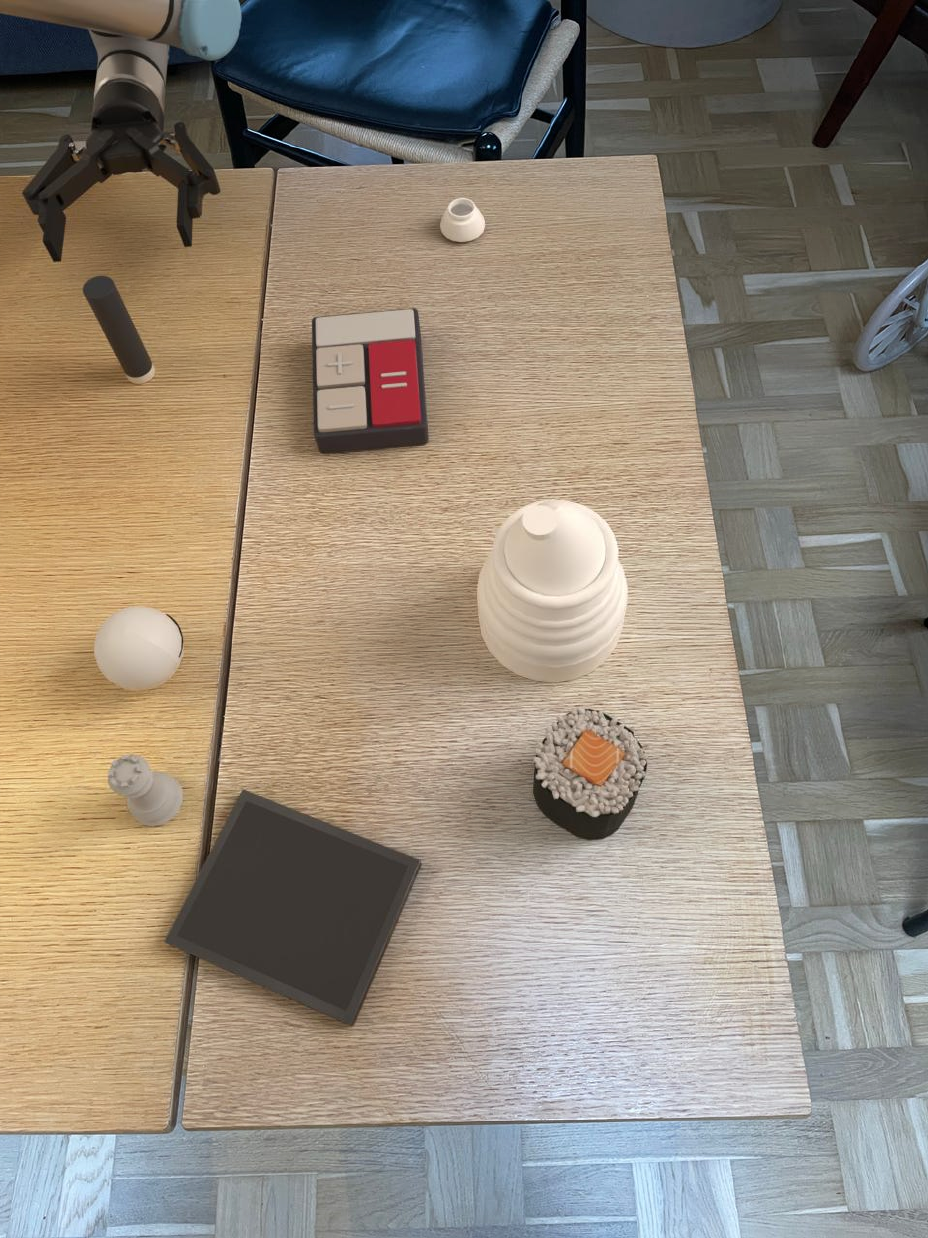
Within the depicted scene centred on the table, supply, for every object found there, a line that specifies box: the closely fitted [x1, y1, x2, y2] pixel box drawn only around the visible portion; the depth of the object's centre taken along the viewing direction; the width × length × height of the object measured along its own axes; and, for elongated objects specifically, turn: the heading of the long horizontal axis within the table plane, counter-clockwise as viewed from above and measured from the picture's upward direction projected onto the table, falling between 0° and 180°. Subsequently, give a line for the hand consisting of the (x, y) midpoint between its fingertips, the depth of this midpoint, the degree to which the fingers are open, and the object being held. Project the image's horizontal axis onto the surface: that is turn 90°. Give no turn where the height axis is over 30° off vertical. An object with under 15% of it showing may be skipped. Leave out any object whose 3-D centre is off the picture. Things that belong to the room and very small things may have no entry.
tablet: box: [163, 789, 423, 1027], centre depth 77 cm, size 16×13×1 cm
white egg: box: [93, 590, 184, 692], centre depth 85 cm, size 10×7×7 cm
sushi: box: [532, 706, 649, 841], centre depth 77 cm, size 8×8×8 cm
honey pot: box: [476, 498, 629, 683], centre depth 80 cm, size 13×13×18 cm
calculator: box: [311, 307, 430, 454], centre depth 99 cm, size 11×4×15 cm
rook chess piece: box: [107, 753, 184, 827], centre depth 78 cm, size 4×4×8 cm
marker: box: [82, 275, 156, 385], centre depth 98 cm, size 3×3×12 cm
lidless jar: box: [439, 197, 486, 243], centre depth 110 cm, size 5×3×5 cm
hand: (118, 244), depth 100 cm, fingers open, 13 cm apart
